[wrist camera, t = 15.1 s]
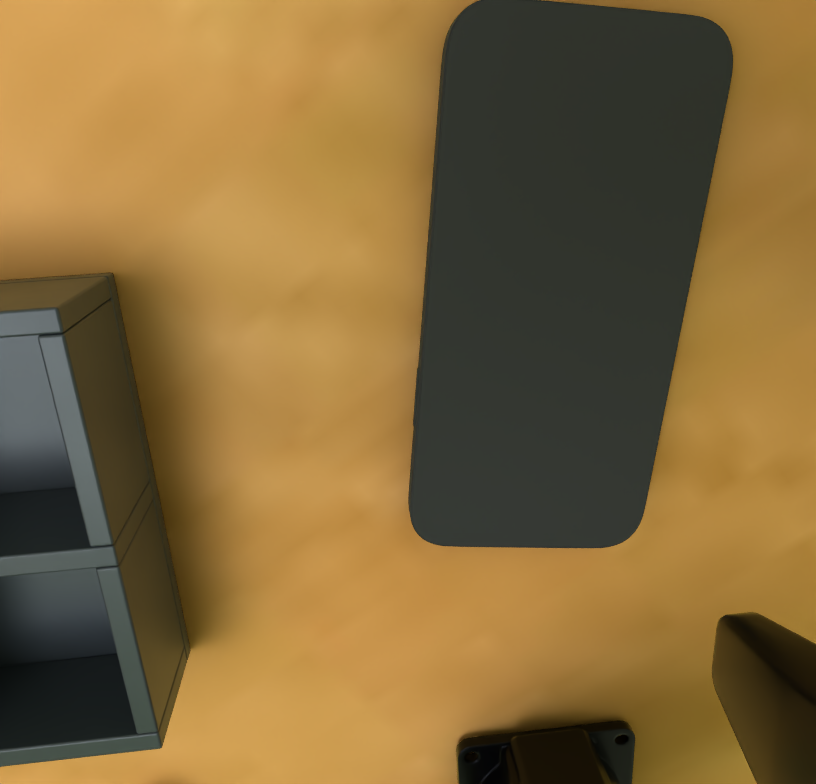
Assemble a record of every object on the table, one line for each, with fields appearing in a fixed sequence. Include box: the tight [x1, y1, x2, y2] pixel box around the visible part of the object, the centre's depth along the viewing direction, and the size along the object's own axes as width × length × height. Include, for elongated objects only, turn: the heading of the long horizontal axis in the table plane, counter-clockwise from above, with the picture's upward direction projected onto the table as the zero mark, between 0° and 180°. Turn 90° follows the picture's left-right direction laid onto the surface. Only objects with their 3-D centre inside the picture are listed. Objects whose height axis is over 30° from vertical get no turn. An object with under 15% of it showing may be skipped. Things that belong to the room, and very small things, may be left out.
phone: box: [409, 0, 733, 548], centre depth 20 cm, size 7×1×15 cm
